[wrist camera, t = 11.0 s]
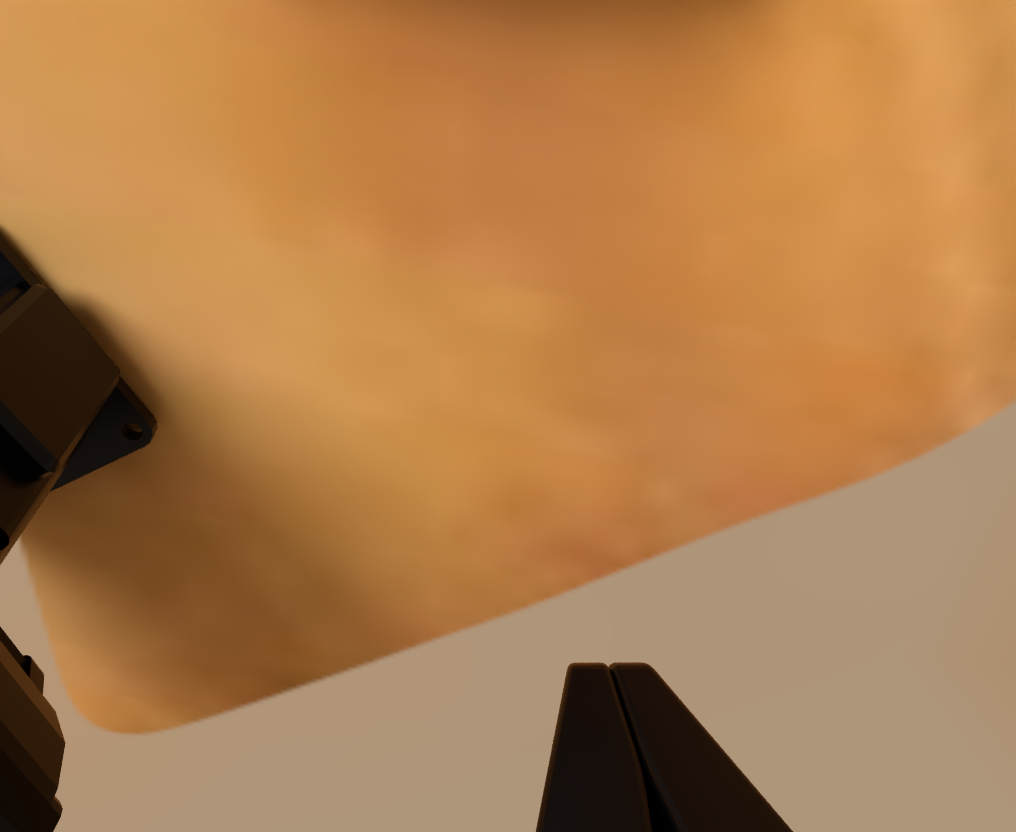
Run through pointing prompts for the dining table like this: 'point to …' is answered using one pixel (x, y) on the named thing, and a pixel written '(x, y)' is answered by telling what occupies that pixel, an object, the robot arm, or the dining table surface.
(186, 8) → the dining table surface
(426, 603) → the dining table surface
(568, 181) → the dining table surface
